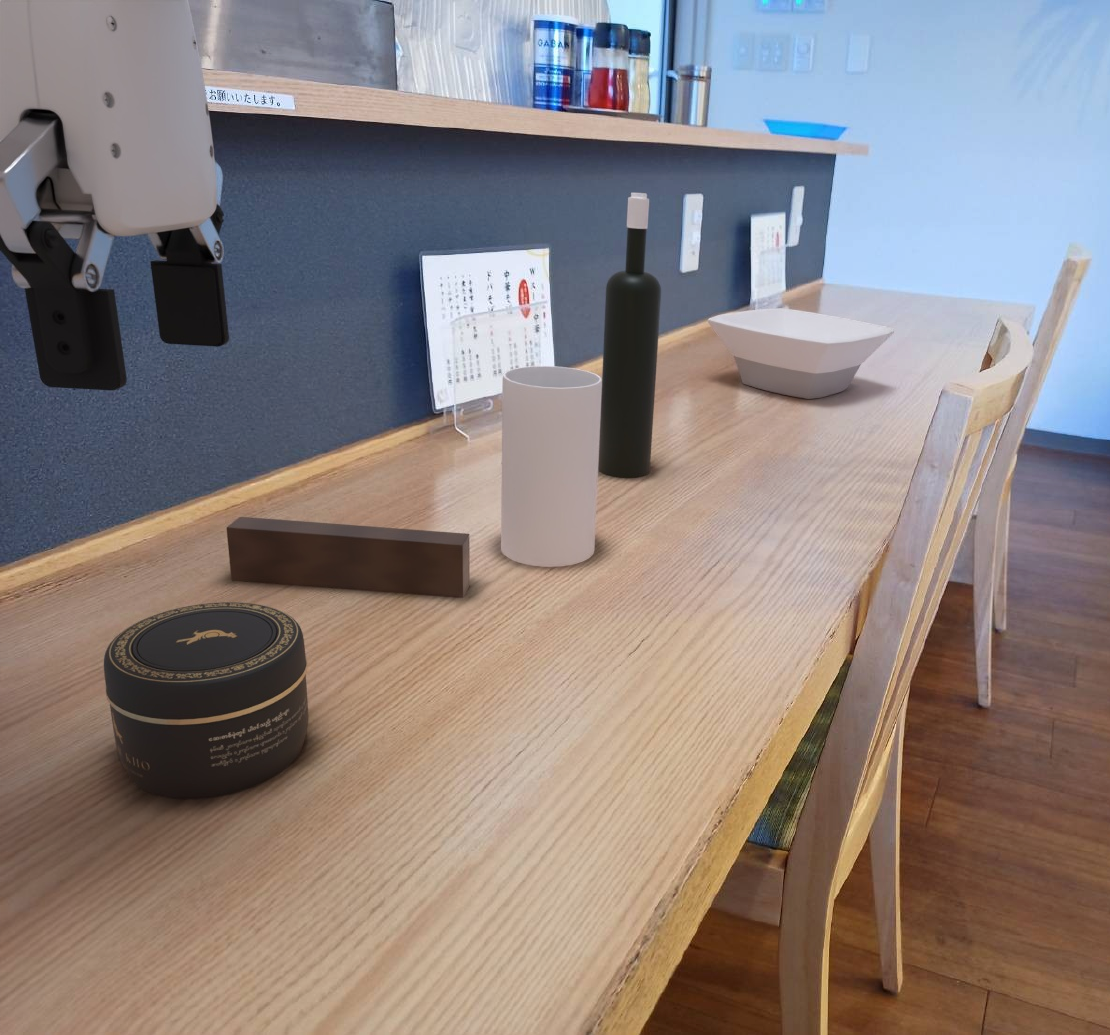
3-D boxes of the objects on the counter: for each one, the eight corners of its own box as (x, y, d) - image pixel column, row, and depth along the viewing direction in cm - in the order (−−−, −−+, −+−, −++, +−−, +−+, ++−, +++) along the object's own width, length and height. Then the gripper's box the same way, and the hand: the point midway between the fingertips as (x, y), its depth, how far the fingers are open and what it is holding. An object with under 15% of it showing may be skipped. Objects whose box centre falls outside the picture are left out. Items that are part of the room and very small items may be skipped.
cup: (612, 552, 89) (621, 378, 83) (554, 580, 82) (559, 393, 76) (542, 529, 93) (546, 361, 87) (481, 554, 86) (481, 374, 80)
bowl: (689, 382, 156) (694, 317, 152) (774, 363, 175) (780, 305, 172) (821, 414, 143) (830, 344, 139) (897, 390, 162) (907, 328, 158)
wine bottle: (659, 475, 110) (678, 196, 100) (625, 486, 106) (641, 195, 96) (622, 463, 114) (637, 191, 103) (587, 473, 109) (598, 190, 99)
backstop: (231, 586, 76) (225, 527, 75) (245, 574, 79) (239, 516, 77) (463, 604, 77) (462, 544, 75) (469, 591, 79) (469, 533, 77)
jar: (88, 754, 55) (69, 633, 53) (260, 692, 63) (250, 583, 60) (167, 838, 50) (149, 707, 47) (346, 759, 57) (340, 642, 54)
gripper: (110, -32, 47) (156, 327, 53) (-191, -132, 31) (-75, 404, 37) (269, -22, 47) (298, 335, 53) (54, -115, 31) (130, 415, 37)
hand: (145, 363), depth 45 cm, fingers open, 9 cm apart
